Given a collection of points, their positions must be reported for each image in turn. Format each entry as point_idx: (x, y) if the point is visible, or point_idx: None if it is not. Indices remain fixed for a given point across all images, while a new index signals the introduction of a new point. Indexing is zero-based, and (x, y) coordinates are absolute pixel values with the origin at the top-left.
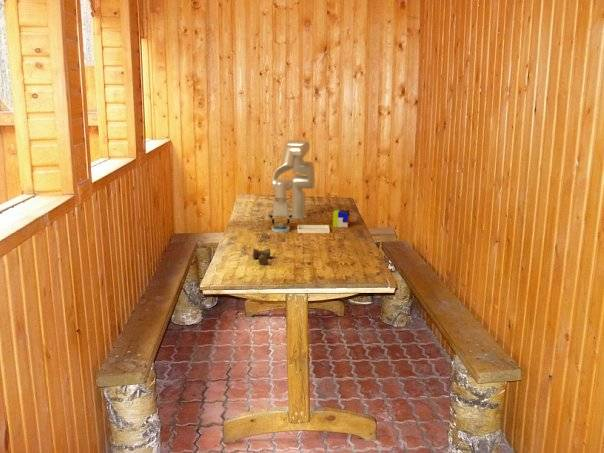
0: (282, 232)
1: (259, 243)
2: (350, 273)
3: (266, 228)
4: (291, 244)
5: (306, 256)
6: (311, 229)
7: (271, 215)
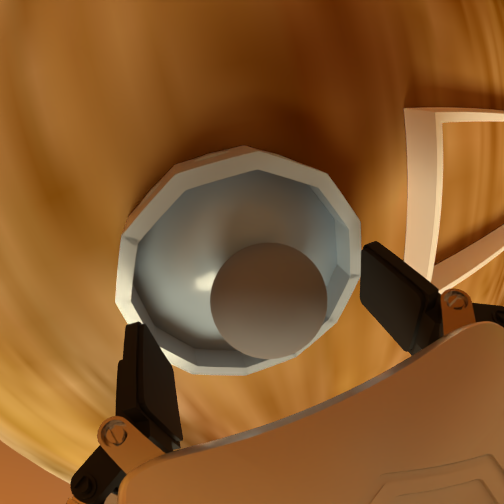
0: None
1: None
2: None
3: (18, 215)
4: None
5: None
6: (484, 264)
7: (107, 488)
